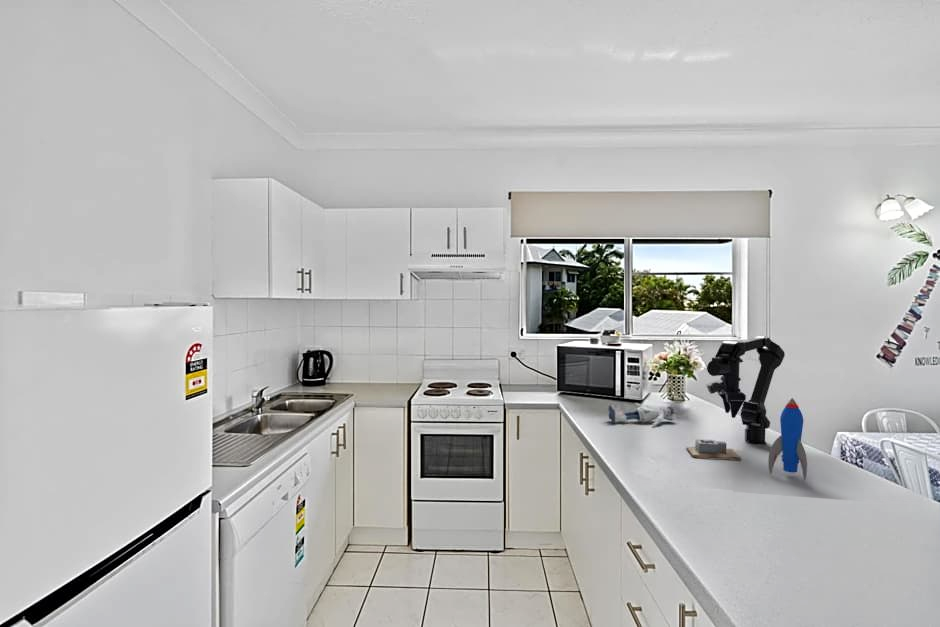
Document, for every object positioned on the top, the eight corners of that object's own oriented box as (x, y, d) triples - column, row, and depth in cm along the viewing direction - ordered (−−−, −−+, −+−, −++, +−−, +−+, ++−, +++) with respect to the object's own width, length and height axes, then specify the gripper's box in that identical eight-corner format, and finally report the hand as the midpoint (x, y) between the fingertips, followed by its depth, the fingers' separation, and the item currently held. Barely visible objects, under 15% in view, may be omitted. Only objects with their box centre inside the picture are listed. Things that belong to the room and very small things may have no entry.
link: (722, 450, 213) (723, 440, 213) (727, 454, 207) (727, 444, 207) (695, 448, 215) (695, 439, 215) (699, 453, 208) (699, 443, 208)
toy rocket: (807, 482, 180) (809, 401, 179) (773, 479, 181) (775, 400, 181) (795, 472, 190) (797, 395, 189) (763, 469, 192) (765, 394, 191)
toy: (603, 396, 273) (666, 391, 275) (603, 413, 276) (665, 408, 277) (618, 419, 252) (686, 413, 253) (618, 436, 254) (685, 431, 255)
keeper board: (732, 451, 215) (732, 438, 215) (740, 460, 203) (741, 446, 203) (686, 448, 218) (686, 435, 218) (692, 457, 206) (692, 443, 206)
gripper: (703, 370, 232) (702, 409, 233) (714, 377, 214) (713, 419, 215) (733, 371, 230) (732, 410, 231) (746, 378, 212) (745, 420, 213)
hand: (730, 415), depth 222 cm, fingers open, 9 cm apart
